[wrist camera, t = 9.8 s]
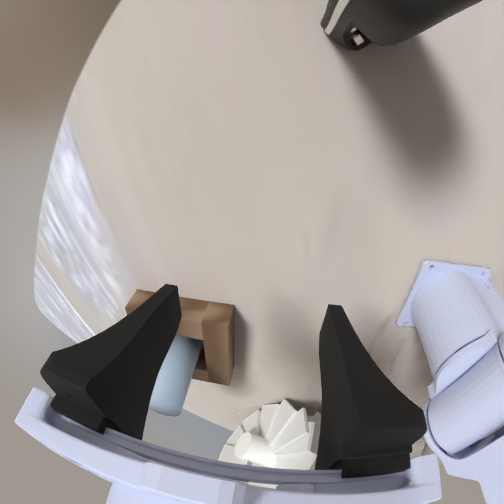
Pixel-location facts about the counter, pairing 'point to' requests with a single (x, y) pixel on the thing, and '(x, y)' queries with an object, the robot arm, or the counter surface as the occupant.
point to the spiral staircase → (275, 439)
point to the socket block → (204, 334)
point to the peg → (175, 376)
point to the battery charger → (385, 19)
